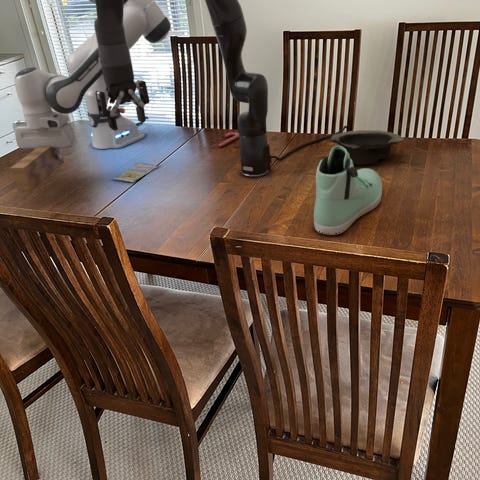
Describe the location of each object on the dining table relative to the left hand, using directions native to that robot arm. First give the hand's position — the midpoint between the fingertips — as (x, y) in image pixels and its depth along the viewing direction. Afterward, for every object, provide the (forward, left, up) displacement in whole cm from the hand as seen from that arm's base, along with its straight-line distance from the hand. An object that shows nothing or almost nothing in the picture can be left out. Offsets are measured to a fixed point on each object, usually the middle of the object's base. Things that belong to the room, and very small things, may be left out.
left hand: (51, 159), depth 166 cm
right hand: (-4, +48, +19) cm, 52 cm away
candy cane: (-64, +21, -9) cm, 68 cm away
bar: (+7, +5, -3) cm, 9 cm away
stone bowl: (-81, +74, -9) cm, 110 cm away
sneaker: (-44, +92, -9) cm, 102 cm away
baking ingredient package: (-22, +17, -9) cm, 29 cm away
